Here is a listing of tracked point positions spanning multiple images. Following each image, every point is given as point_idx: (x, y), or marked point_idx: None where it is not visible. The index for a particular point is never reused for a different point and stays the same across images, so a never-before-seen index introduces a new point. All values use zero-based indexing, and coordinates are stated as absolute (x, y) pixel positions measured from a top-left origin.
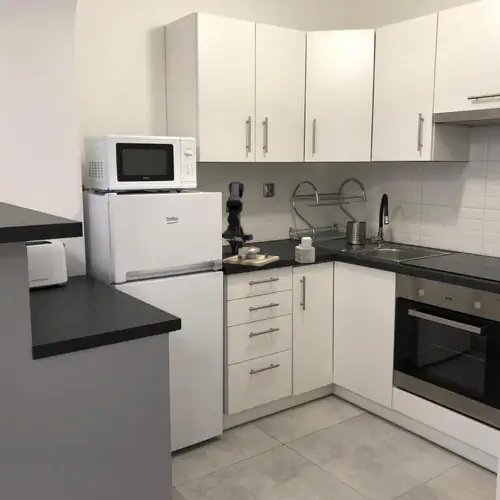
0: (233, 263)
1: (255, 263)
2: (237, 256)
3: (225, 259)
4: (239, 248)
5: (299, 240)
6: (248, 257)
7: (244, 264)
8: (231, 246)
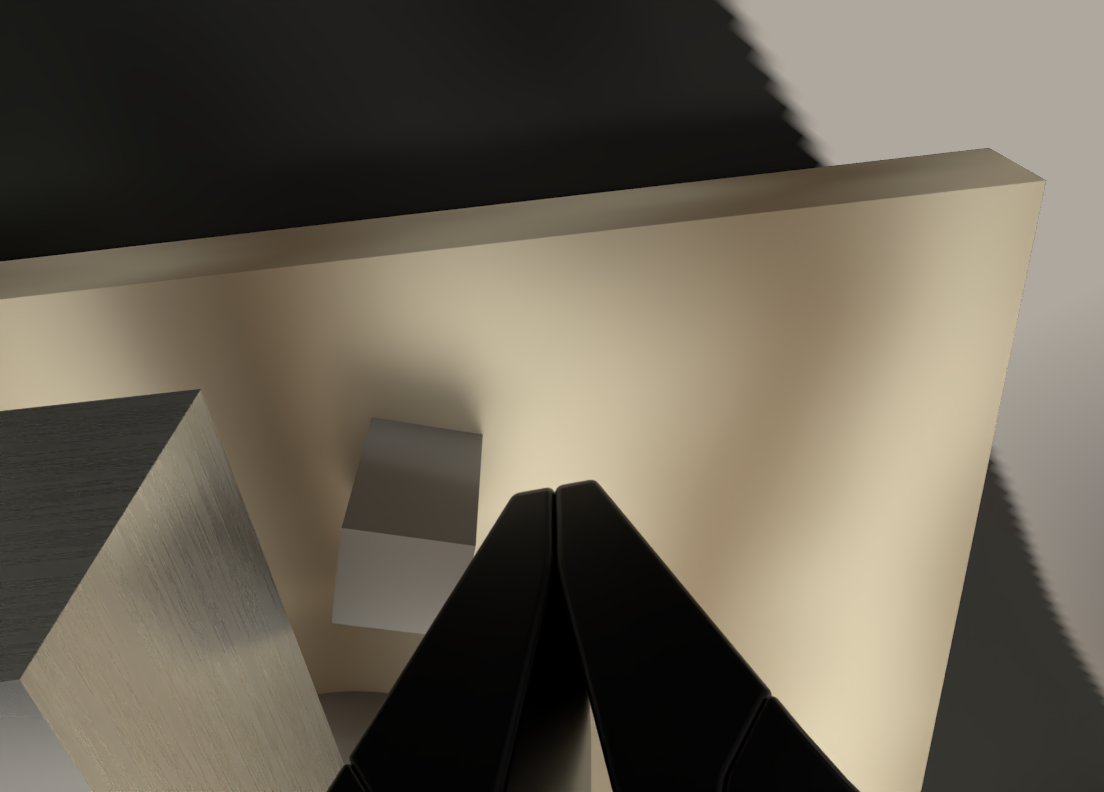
0: (515, 206)
1: None
2: None
3: (937, 281)
4: (45, 753)
5: None
6: None
7: (64, 256)
8: (751, 755)
